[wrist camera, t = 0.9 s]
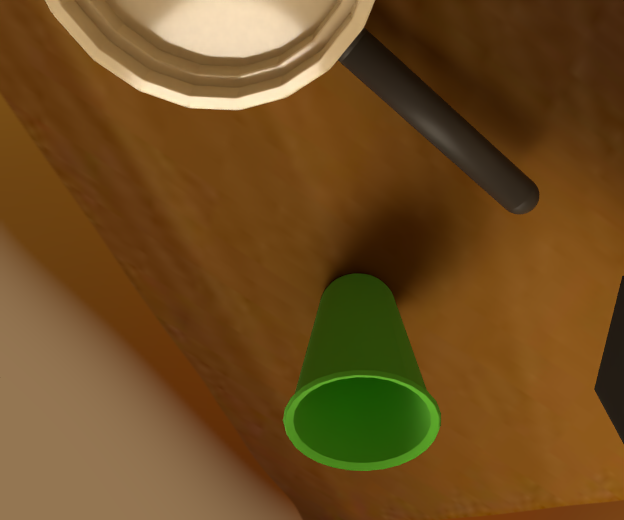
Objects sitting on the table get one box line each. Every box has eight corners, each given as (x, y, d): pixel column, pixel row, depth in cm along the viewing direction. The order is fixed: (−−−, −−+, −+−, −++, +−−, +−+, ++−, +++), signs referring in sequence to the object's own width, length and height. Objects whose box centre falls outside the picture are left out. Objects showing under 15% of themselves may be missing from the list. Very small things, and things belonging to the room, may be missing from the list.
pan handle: (351, 11, 30) (352, 36, 26) (531, 166, 34) (551, 203, 31) (326, 43, 31) (324, 71, 27) (505, 189, 35) (521, 227, 32)
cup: (271, 309, 43) (253, 436, 35) (344, 227, 39) (345, 349, 30) (368, 359, 46) (374, 488, 38) (447, 288, 42) (475, 416, 33)
